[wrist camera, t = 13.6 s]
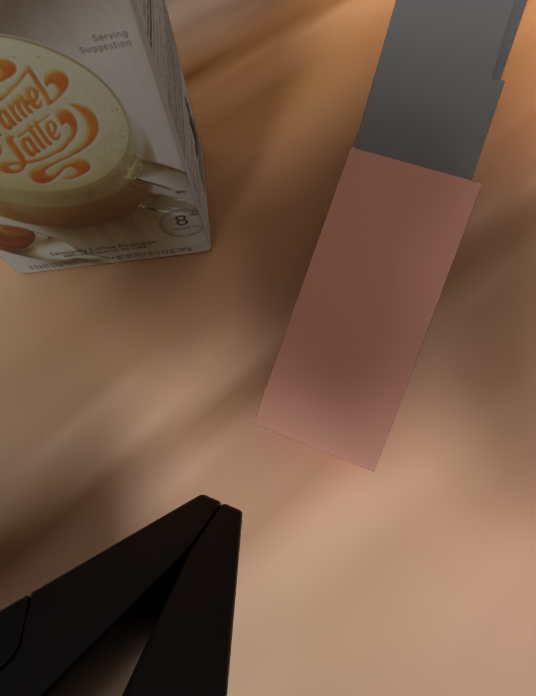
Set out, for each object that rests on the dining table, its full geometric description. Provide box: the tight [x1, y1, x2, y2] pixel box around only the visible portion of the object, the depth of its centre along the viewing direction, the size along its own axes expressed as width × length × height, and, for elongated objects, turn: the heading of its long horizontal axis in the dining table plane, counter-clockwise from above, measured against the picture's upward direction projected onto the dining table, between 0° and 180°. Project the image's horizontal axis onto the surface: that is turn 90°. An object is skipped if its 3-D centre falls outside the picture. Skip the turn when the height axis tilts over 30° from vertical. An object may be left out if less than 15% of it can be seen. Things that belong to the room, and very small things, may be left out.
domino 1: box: [363, 0, 514, 116], centre depth 20 cm, size 2×4×10 cm
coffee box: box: [0, 0, 211, 274], centre depth 15 cm, size 9×6×16 cm
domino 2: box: [353, 56, 505, 180], centre depth 19 cm, size 2×4×10 cm
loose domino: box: [253, 147, 482, 472], centre depth 17 cm, size 2×4×10 cm
